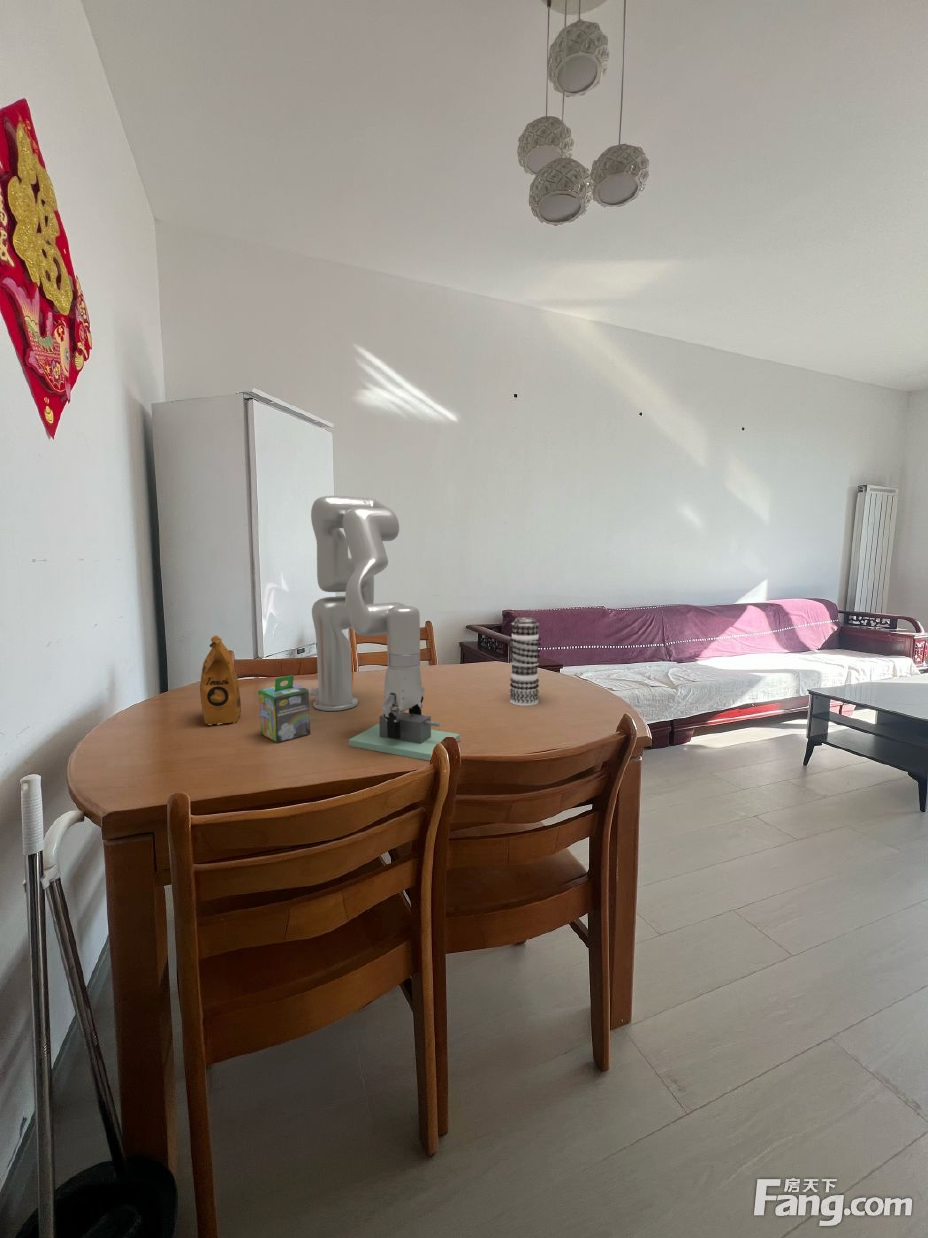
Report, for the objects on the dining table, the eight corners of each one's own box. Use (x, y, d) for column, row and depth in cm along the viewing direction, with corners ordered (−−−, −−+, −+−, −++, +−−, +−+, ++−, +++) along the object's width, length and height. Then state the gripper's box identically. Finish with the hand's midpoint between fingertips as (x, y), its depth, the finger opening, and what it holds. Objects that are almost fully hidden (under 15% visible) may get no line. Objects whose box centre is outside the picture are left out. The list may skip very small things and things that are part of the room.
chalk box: (294, 725, 140) (291, 669, 138) (311, 734, 133) (309, 675, 131) (259, 734, 134) (256, 675, 132) (276, 744, 127) (273, 682, 125)
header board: (348, 745, 126) (348, 727, 125) (382, 727, 138) (381, 710, 138) (432, 761, 117) (432, 741, 116) (459, 740, 129) (459, 722, 129)
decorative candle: (541, 706, 156) (543, 620, 153) (509, 706, 157) (510, 620, 153) (537, 697, 166) (539, 616, 162) (507, 697, 166) (508, 616, 162)
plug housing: (379, 737, 127) (379, 716, 127) (391, 730, 132) (390, 710, 131) (434, 746, 121) (434, 724, 121) (444, 739, 126) (444, 718, 125)
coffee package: (198, 728, 138) (192, 643, 135) (203, 714, 149) (198, 635, 146) (240, 724, 141) (235, 641, 138) (242, 710, 153) (238, 633, 150)
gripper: (408, 651, 134) (409, 718, 136) (368, 666, 119) (370, 741, 121) (435, 654, 131) (436, 722, 133) (398, 669, 115) (399, 746, 118)
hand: (405, 731), depth 127 cm, fingers open, 9 cm apart
